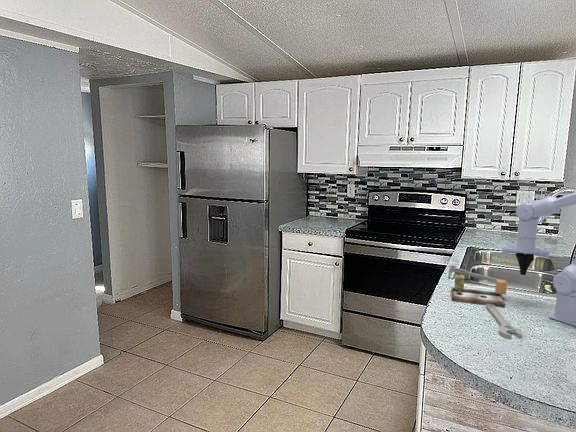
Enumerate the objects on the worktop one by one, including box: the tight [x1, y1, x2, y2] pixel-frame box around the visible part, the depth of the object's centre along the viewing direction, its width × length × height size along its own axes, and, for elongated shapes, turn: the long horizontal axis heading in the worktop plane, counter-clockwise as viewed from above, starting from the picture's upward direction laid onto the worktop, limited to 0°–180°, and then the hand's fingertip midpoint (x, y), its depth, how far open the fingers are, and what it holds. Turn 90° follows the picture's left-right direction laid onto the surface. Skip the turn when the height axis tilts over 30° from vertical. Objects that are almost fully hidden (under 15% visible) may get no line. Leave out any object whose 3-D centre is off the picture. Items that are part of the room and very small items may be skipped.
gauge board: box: [450, 274, 506, 308], centre depth 148 cm, size 17×12×7 cm
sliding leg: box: [494, 278, 508, 300], centre depth 146 cm, size 3×8×5 cm, turn 159°
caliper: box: [447, 264, 497, 283], centre depth 170 cm, size 20×1×6 cm, turn 76°
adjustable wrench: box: [485, 304, 523, 340], centre depth 128 cm, size 25×6×2 cm, turn 164°
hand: (522, 274), depth 145 cm, fingers closed
